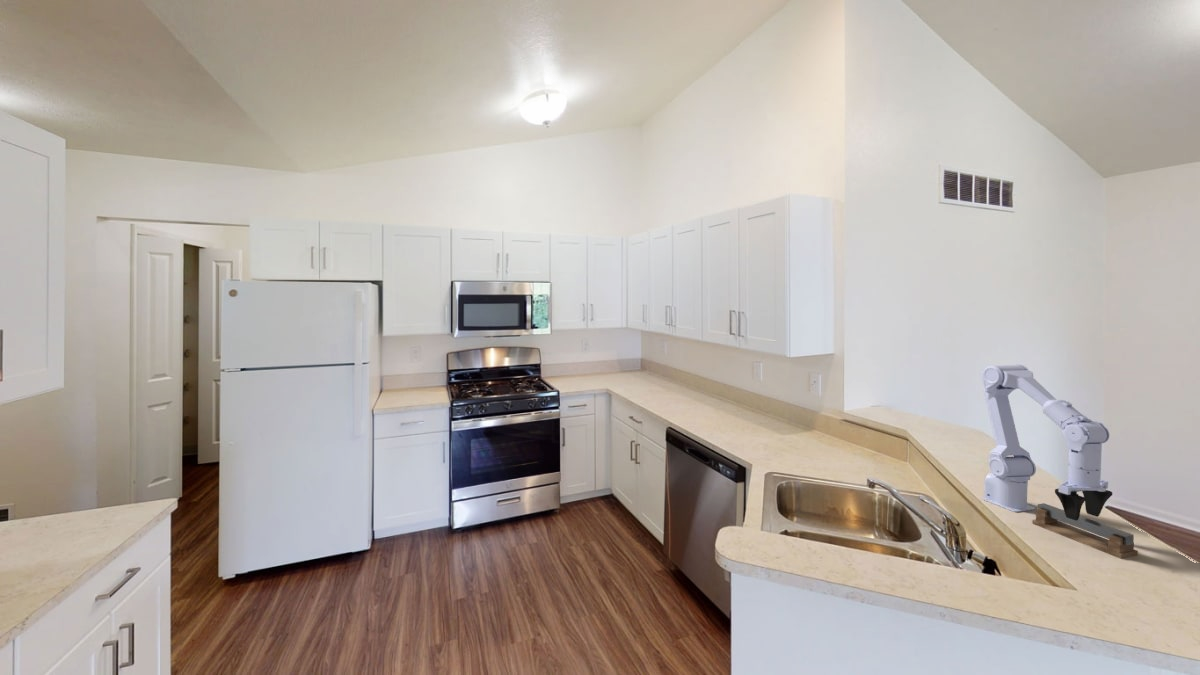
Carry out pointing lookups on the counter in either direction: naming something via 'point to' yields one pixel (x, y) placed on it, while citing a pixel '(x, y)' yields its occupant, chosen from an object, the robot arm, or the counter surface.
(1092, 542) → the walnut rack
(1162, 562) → the counter surface
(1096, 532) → the graphite rail
